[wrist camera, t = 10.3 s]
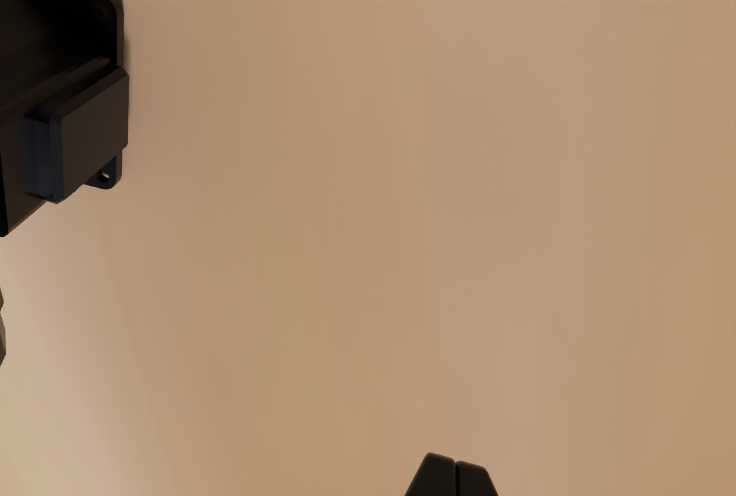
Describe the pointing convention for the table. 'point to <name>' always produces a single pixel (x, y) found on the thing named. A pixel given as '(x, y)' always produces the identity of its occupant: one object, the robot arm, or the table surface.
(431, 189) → the table surface
